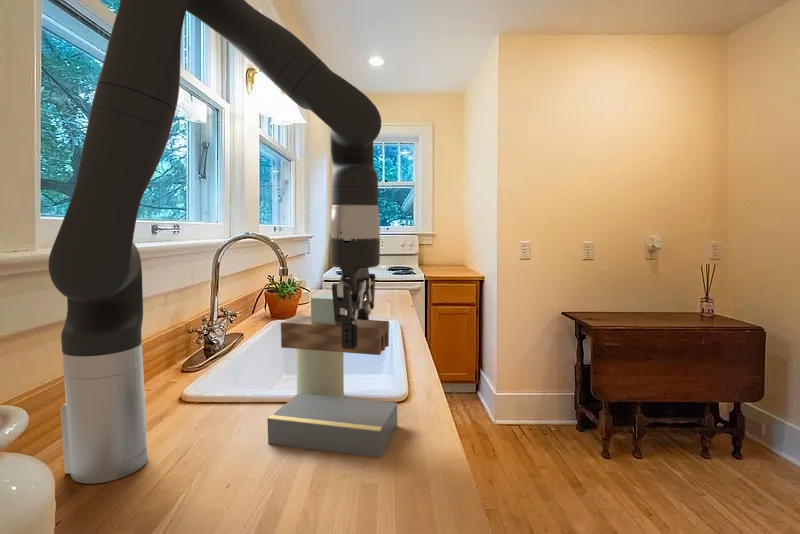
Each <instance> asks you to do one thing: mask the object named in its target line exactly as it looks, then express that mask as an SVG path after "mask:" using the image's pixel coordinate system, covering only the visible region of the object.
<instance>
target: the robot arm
mask: <svg viewBox="0 0 800 534" xmlns="http://www.w3.org/2000/svg"><path fill="white" fill-rule="evenodd" d="M186 12H187V13H188V14H190V15H191V16H193V17H194V18H196V19H197V20H199V21H200V22H201V23H203V24H204V25H206V26H207V27H208V28H210V29H212V30H213V32H215V33H217V35H219V36H220V37H221V38H223V39H224V40H225V41H226V42H228V43H229V44H230V45H231V46H233V47H234V48H235V49H236V50H237V51H239V53H240V54H241V55H243V56H244V57H245V58H246V59H247V60H248V61H249V62H250V63H252V64H253V65H254V66H255V67H256V69H258V70H259V72H261V73H262V74H263V75H264V76H265V77H266V78H267V79H269V80H270V81H271V82H272V83H273V84H274V85H275V86H276V87H277V88H278V89H279V90H281V92H283V93H284V94H285V95H286V96H288V98H290V99H291V101H293V103H295V104H297V105H298V106H299V107H300V108H302V109H303V110H310V111H311V112H312V113H313V114H314V115H315V116H316V117H317V118H318V119H320V120H321V121H322V122H323V123H324V124H325V125H326V126H328V127H329V148H330V150H329V151H330V158H331V167H332V176H331V212H330V225H329V226H330V227H329V228H330V235H329V236H330V265H331V266H332V267H335V268H340V270H341V272H340V279H339V282H338V283H336V282H335V283H332V285H331V294H332V295H333V307H334V319H335V322H336V323H340V324H342V325H341V328H342V348H344V349H355V348H356V347H357V319H362V320H370V317H369V316H371V314H372V310H374V308H375V291H376V289H375V288H376V278H377V277H376V273H370V271H369V268H370V269H371V268H376V267H377V266H380V263H381V259H380V258H381V257H380V254H381V253H380V251H381V250H380V248H381V236H380V233H381V232H380V231H381V230H380V229H381V227H380V226H381V225H380V224H381V222H380V213H379V179H378V174H377V171H376V170H375V167H374V141H376V139H377V138H378V137H379V134H380V133H381V129H382V118H381V117H382V116H381V114H380V112H379V110H378V108H377V106H376V105H375V103H374V102H373V100H371V99H370V98H369V97H368V96H367V95H366V94H365V93H363V92H362V91H361V90H360V89H358V88H357V87H356V86H355V85H354V84H351V83H350V82H348V80H346V79H344V78H343V77H342V76H341V75H339V74H337V73H336V72H334V71H333V70H331V68H329V67H328V66H327V64H325V62H324V61H322V59H321V58H320V57H319V56H317V54H316V53H314V52H313V51H312V50H311V49H310V48H309V47H308V46H307V45H306V44H305V43H304V42H303V41H302V40H301V39H299V38H298V37H297V36H296V35H294V34H293V32H292V31H290V30H288V29H287V28H286V27H284V26H283V25H281V24H279V23H278V22H276V21H275V20H273V19H271V18H270V17H268V16H267V15H265V14H263V13H262V12H260V11H259V10H257V9H255V7H253V6H252V4H249V3H248V2H247V1H246V0H119V4H118V9H117V12H116V15H115V18H114V21H113V22H114V23H113V26H112V28H111V33H110V35H109V40H108V43H107V48H106V51H105V54H104V59H103V62H102V66H101V69H100V73H99V76H98V79H97V82H96V83H97V84H96V87H95V92H94V95H93V98H92V104H91V107H90V110H89V116H88V122H87V126H86V130H85V131H86V132H85V135H84V140H83V144H82V149H81V154H80V155H81V156H80V159H79V160H80V161H79V167H78V173H77V178H76V181H75V185H74V189H73V193H72V196H71V198H70V202H69V204H68V207H67V210H66V212H65V215H64V217H63V220H62V222H61V224H60V227H59V230H58V232H57V235H56V237H55V239H54V242H53V245H52V246H51V247H52V248H51V250H50V252H49V253H50V254H49V255H48V256H49V257H48V263H47V264H48V273H49V276H50V279H51V281H52V283H53V285H54V288H56V289H57V291H58V292H59V293H61V295H63V296H64V297H65V298H66V300H67V303H66V304H67V311H66V318H65V322H64V324H63V327H62V328H63V329H62V330H61V334H60V335H61V337H60V342H61V352H62V353H61V354H62V367H63V368H62V369H63V380H64V393H65V396H64V397H65V403H64V404H61V406H60V421H61V435H62V436H61V437H62V449H63V466H64V473H65V474H68V475H69V474H70V477H71V479H72V480H73V481H75V482H77V483H79V484H88V485H89V484H102V483H107V482H112V481H115V480H119V479H122V478H124V477H127V476H130V475H131V474H133V473H135V472H137V471H138V470H140V469H141V468H142V467H144V465H145V464H146V463H147V462H148V441H147V438H148V437H147V418H146V416H147V415H146V413H147V412H146V398H145V380H144V379H145V376H144V361H143V359H144V357H143V343H142V341H143V340H142V329H143V326H142V325H143V319H144V318H143V317H144V301H143V298H144V297H143V272H142V271H143V269H142V259H141V256H140V255H141V254H140V252H139V250H138V248H137V246H136V245H135V243H134V242H133V241H134V234H135V229H136V223H137V220H138V219H137V218H138V213H139V209H140V206H141V202H142V199H143V197H144V194H145V191H147V187H148V186H149V184H150V182H151V179H152V178H153V176H154V174H155V173H156V170H157V168H158V165H159V164H160V161H161V159H162V157H163V154H164V153H165V149H166V147H167V144H168V141H169V139H170V135H171V131H172V127H173V123H174V118H175V115H176V111H177V107H178V102H179V101H178V100H179V96H180V95H179V94H180V84H181V83H180V81H181V65H182V64H181V63H182V61H181V60H182V59H181V57H182V56H181V55H182V54H181V53H182V51H181V48H182V35H183V26H184V21H185V18H186V17H185V16H186V14H187V13H186Z"/></svg>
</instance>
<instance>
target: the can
mask: <svg viewBox="0 0 800 534" xmlns="http://www.w3.org/2000/svg"><path fill="white" fill-rule="evenodd" d="M344 353H345V352H332V351H319V350H306V349H295V354H296V356H295V357H296V358H295V361H296V363H295V364H296V395H297V394H298V393H301V394H311V395H321V396H331V397H342V398H344V397H345V387H344V386H345V384H344V378H345V377H344V374H345V373H344Z"/></svg>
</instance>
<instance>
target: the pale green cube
mask: <svg viewBox="0 0 800 534" xmlns="http://www.w3.org/2000/svg"><path fill="white" fill-rule="evenodd" d="M310 316H311V323H313V324H329V325H336V324H338V323H336V322H335V319H334V307H333V295H332V293H331V294H329V293H328V294H326V293H320V294H317V295H316V296H313V297H310Z"/></svg>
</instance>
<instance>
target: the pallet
mask: <svg viewBox="0 0 800 534" xmlns="http://www.w3.org/2000/svg"><path fill="white" fill-rule="evenodd" d="M341 325H342V324H340V323H338V324H336V325H329V324H313V323H311V315H310V316H309V315H308V316H307V315H295V316H292V317H290V318H287V319H286V320H284V321H281V322H280V340H281V341H280V345H281V346H280V347H281V348H283V349H295V350H296V349H306V350H319V351H332V352H344V353H345V354H347V353H349V354H357V355H358V354H360V355H373V356H374V355H376V356H380V355H381V354H382V352H384V351H385V350H386V348H388V347H389V345H390V342H389V341H390V338H389V337H390V329H389V328H390V320H379V319H369V320H362V319H357V347H356V348H355V349H344V348H342V328H341Z"/></svg>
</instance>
